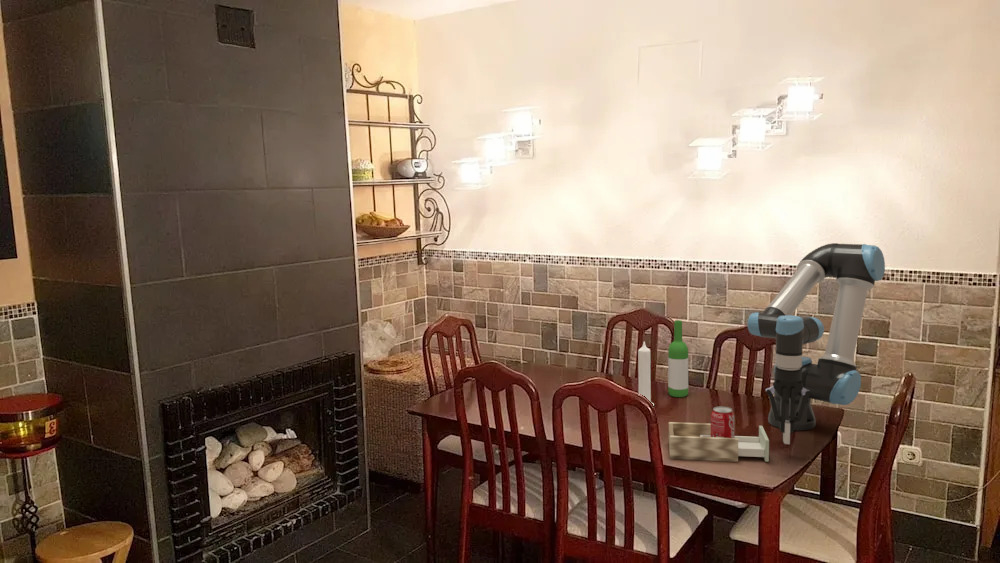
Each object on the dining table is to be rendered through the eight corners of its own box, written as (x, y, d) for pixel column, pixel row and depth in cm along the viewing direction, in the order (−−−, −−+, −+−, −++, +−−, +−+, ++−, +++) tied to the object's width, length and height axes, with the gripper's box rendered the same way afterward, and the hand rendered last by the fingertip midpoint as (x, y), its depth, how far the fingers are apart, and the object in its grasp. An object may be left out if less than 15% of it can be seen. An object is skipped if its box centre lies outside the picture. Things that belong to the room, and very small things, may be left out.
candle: (631, 404, 273) (630, 340, 269) (646, 401, 275) (646, 338, 272) (642, 409, 266) (641, 344, 263) (657, 406, 269) (657, 342, 266)
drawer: (761, 445, 225) (762, 425, 225) (768, 461, 213) (769, 440, 212) (699, 443, 229) (699, 423, 229) (702, 458, 217) (702, 437, 216)
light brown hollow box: (732, 445, 228) (733, 424, 227) (738, 461, 214) (738, 439, 213) (668, 442, 232) (668, 422, 231) (669, 458, 218) (669, 436, 217)
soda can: (731, 442, 225) (731, 405, 223) (736, 450, 218) (737, 412, 216) (708, 442, 225) (708, 405, 224) (712, 450, 218) (713, 412, 217)
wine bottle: (679, 391, 288) (679, 318, 284) (692, 396, 281) (692, 321, 277) (664, 394, 285) (663, 320, 281) (676, 399, 278) (676, 323, 274)
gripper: (808, 364, 216) (806, 439, 219) (763, 363, 219) (761, 437, 222) (814, 370, 209) (811, 448, 212) (767, 369, 212) (765, 445, 215)
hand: (786, 442), depth 217 cm, fingers closed
